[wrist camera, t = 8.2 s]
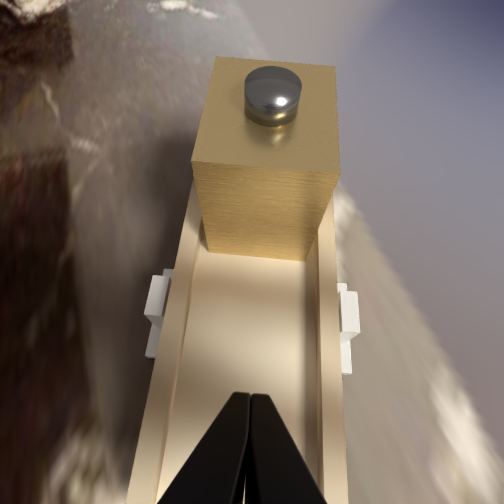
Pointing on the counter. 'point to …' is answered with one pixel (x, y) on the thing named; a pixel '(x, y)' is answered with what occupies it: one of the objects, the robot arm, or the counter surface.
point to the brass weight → (266, 156)
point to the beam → (245, 355)
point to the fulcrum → (160, 297)
